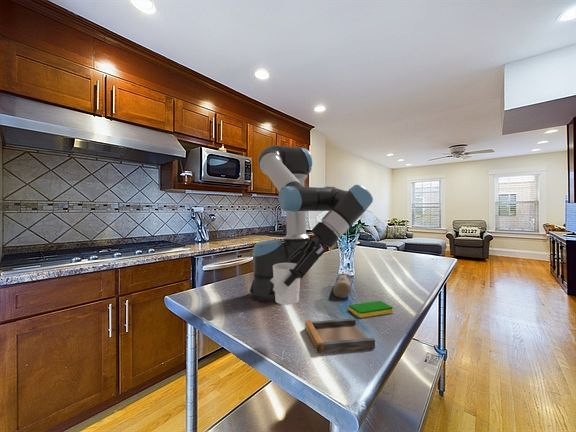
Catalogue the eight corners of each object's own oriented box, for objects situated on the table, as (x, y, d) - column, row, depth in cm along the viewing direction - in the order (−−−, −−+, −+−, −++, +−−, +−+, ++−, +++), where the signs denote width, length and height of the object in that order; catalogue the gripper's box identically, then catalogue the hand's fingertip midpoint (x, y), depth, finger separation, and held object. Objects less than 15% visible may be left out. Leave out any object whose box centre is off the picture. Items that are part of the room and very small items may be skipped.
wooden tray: (354, 324, 82) (354, 316, 82) (375, 347, 69) (375, 338, 68) (305, 328, 79) (305, 320, 79) (317, 353, 66) (317, 343, 66)
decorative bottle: (351, 299, 105) (351, 283, 104) (332, 297, 107) (332, 282, 107) (353, 281, 129) (353, 268, 129) (338, 280, 132) (338, 267, 131)
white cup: (273, 296, 77) (272, 263, 76) (299, 295, 77) (298, 262, 77) (273, 306, 69) (272, 269, 68) (302, 305, 69) (302, 268, 69)
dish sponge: (348, 311, 94) (348, 304, 94) (380, 306, 98) (380, 300, 98) (359, 319, 87) (359, 312, 87) (393, 313, 91) (393, 307, 91)
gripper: (352, 243, 65) (290, 311, 63) (327, 234, 85) (280, 285, 83) (332, 222, 64) (268, 290, 62) (312, 219, 84) (263, 270, 82)
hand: (275, 287), depth 72 cm, fingers closed on white cup, 8 cm apart
